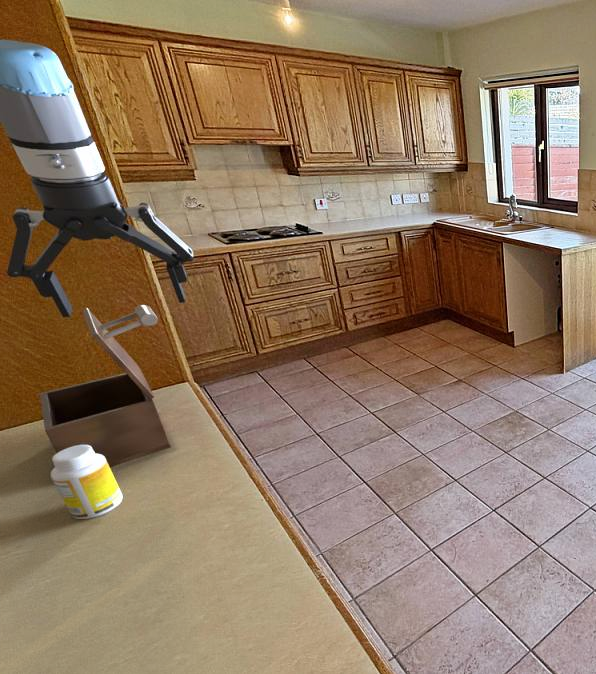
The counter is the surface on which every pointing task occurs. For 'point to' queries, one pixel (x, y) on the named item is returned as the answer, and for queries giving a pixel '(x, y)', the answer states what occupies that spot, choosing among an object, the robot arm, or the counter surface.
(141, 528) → the counter surface
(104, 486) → the supplement bottle
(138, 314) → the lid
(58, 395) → the chest
